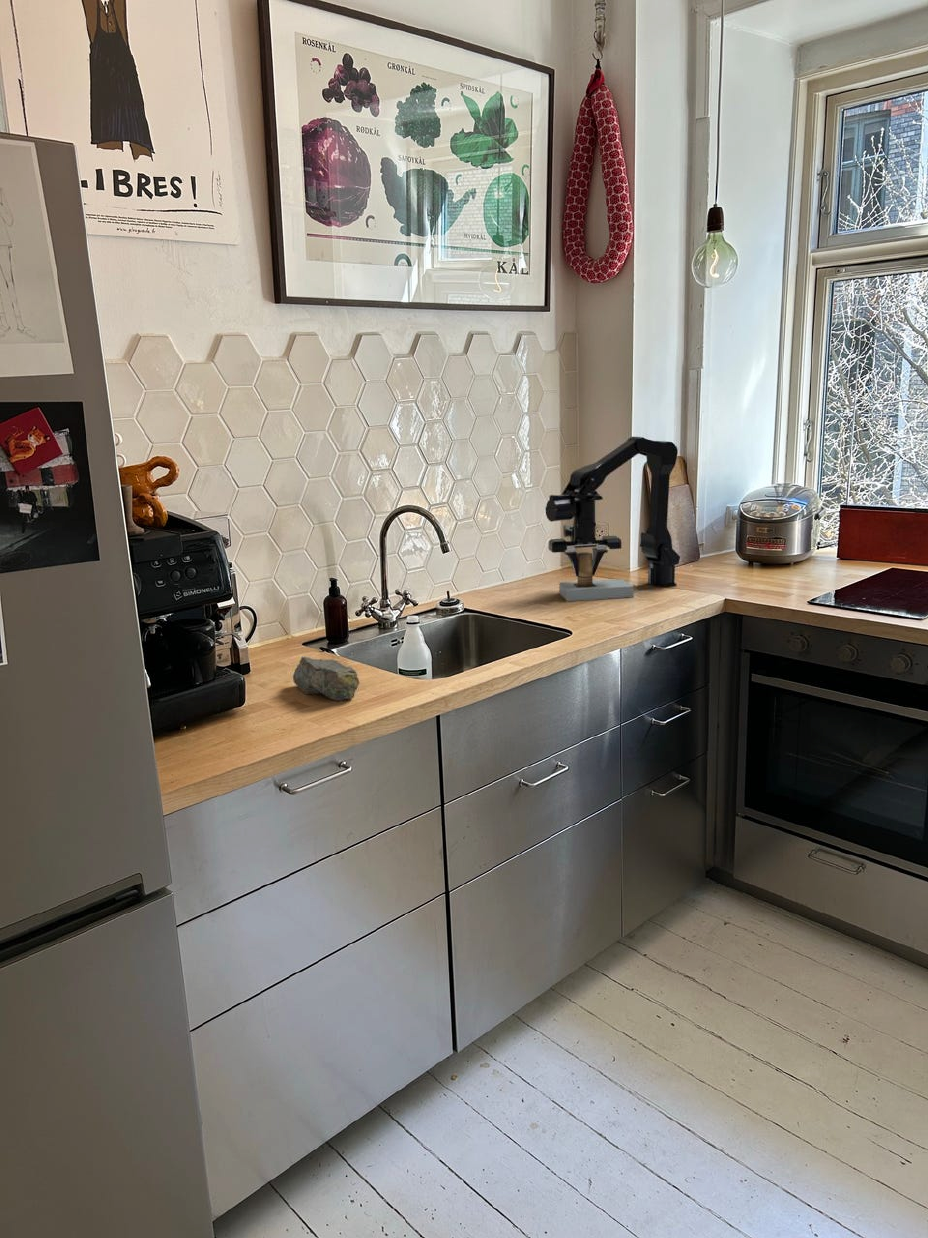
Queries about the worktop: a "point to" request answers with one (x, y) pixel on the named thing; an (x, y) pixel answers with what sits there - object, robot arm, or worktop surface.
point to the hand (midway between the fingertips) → (585, 575)
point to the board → (596, 590)
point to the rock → (326, 678)
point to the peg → (585, 570)
